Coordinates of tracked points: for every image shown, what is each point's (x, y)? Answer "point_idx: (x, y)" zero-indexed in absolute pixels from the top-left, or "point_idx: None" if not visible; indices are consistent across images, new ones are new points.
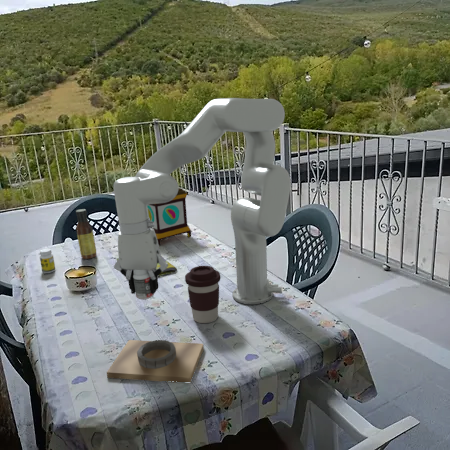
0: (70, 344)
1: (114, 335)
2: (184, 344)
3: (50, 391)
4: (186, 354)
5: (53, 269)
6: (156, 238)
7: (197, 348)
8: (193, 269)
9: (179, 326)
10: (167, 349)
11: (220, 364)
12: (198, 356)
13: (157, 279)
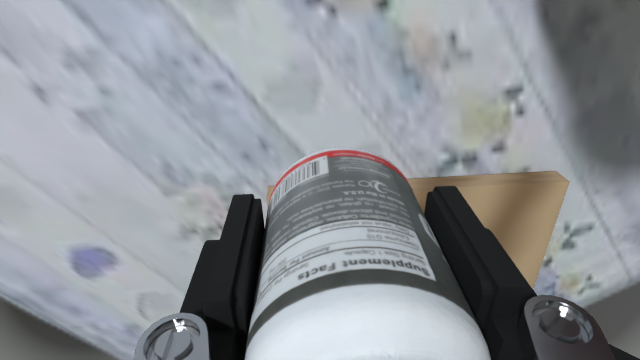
0: (27, 214)
1: (162, 131)
2: (497, 195)
3: None
4: (506, 244)
5: None
6: None
7: (545, 210)
8: None
9: (444, 9)
10: None
11: (600, 236)
12: (546, 247)
13: (526, 283)
